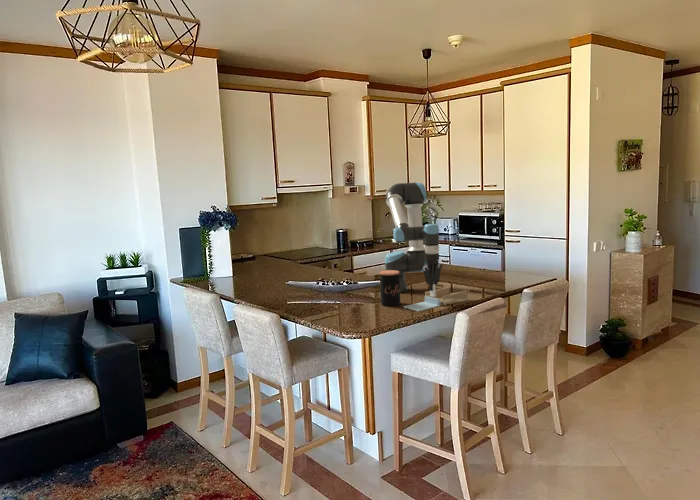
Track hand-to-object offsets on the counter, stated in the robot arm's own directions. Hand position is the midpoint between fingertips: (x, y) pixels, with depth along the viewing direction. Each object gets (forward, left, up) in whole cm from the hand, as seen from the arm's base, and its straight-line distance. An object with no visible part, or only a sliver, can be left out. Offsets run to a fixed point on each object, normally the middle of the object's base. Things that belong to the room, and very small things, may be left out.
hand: (432, 296), depth 289 cm
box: (0, +10, -4) cm, 11 cm away
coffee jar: (-16, -17, -5) cm, 23 cm away
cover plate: (0, -8, -5) cm, 10 cm away
